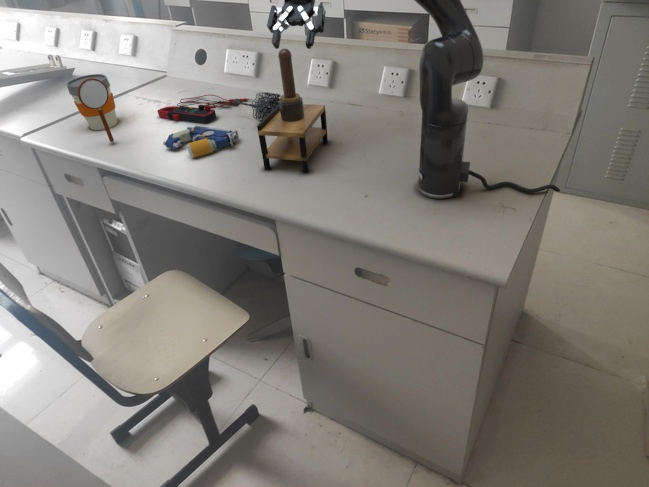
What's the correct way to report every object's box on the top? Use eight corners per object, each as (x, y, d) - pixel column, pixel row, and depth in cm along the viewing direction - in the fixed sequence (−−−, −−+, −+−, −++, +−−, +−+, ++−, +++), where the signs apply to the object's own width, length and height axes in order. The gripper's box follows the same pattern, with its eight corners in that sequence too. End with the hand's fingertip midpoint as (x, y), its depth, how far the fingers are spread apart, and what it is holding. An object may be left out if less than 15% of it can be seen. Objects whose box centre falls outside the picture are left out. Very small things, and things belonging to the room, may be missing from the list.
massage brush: (248, 111, 154) (243, 83, 148) (300, 121, 144) (297, 91, 138) (229, 121, 148) (223, 93, 142) (282, 132, 138) (278, 102, 132)
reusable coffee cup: (80, 125, 156) (61, 81, 147) (116, 114, 162) (100, 71, 153) (90, 135, 148) (71, 90, 139) (128, 124, 154) (111, 79, 145)
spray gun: (212, 163, 125) (244, 141, 135) (208, 149, 122) (241, 127, 133) (157, 153, 134) (191, 133, 144) (152, 140, 131) (187, 121, 142)
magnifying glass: (101, 150, 139) (74, 84, 126) (99, 148, 139) (71, 83, 127) (127, 139, 143) (103, 74, 131) (124, 138, 144) (100, 74, 132)
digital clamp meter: (209, 113, 143) (150, 106, 152) (213, 127, 145) (154, 119, 155) (250, 88, 159) (194, 82, 169) (252, 100, 162) (197, 94, 171)
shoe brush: (307, 113, 120) (300, 45, 109) (299, 122, 115) (291, 52, 105) (286, 112, 121) (277, 45, 111) (277, 121, 117) (267, 52, 107)
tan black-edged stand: (328, 142, 130) (324, 100, 122) (307, 173, 116) (302, 128, 109) (289, 140, 133) (283, 99, 126) (264, 169, 120) (256, 126, 112)
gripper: (270, -24, 112) (259, 38, 111) (325, -26, 108) (314, 38, 107) (281, -4, 119) (271, 55, 118) (333, -6, 115) (323, 55, 114)
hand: (291, 47), depth 112 cm, fingers open, 8 cm apart
